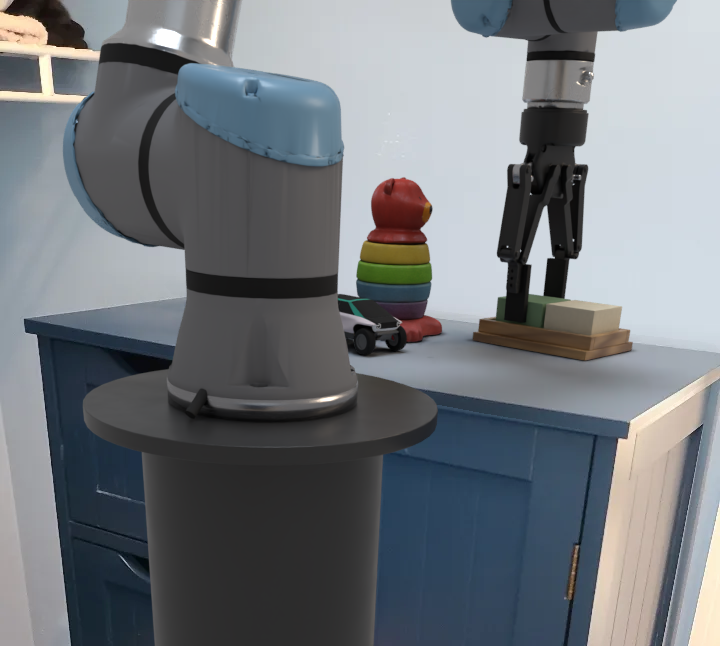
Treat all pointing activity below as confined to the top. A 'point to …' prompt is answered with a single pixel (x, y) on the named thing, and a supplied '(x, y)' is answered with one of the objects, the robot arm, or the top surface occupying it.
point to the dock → (552, 340)
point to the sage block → (529, 309)
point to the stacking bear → (399, 257)
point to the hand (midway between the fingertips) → (533, 317)
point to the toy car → (369, 324)
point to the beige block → (582, 317)
